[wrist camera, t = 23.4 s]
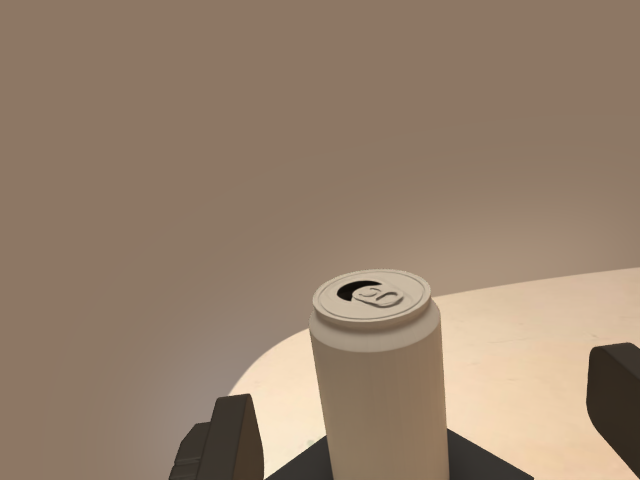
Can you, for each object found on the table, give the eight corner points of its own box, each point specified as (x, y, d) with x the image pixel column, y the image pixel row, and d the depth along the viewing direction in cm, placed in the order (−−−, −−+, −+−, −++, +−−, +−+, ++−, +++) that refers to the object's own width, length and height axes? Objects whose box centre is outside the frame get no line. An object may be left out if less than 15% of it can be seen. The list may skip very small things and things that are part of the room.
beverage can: (387, 425, 30) (368, 256, 26) (474, 480, 25) (466, 281, 21) (312, 485, 26) (277, 297, 22) (398, 563, 21) (372, 340, 17)
